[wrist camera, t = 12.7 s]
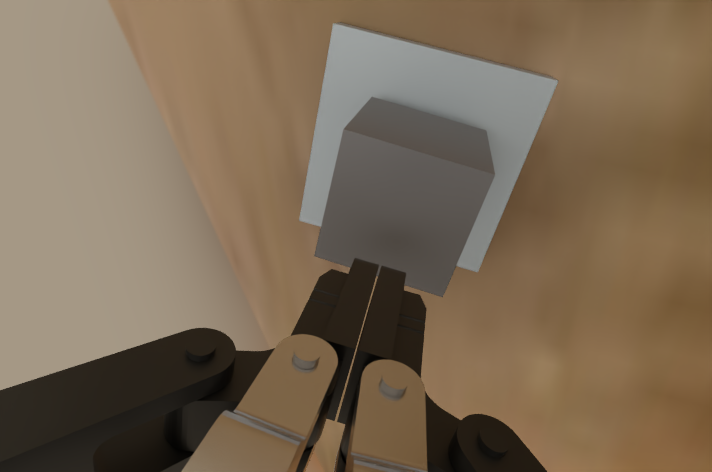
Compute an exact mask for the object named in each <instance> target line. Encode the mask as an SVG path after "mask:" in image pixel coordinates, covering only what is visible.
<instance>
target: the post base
mask: <svg viewBox="0 0 712 472" xmlns="http://www.w3.org/2000/svg"><path fill="white" fill-rule="evenodd" d="M557 83H558V80H557V79H555V78H554V77H552V76H548V75H544V74H540V73H536V72H533V71H529V70H525V69H521V68H517V67H513V66H509V65H505V64H501V63H497V62H493V61H490V60H486V59H482V58H478V57H474V56H470V55H466V54H462V53H458V52H454V51H450V50H447V49H443V48H439V47H435V46H431V45H427V44H423V43H419V42H415V41H411V40H407V39H403V38H400V37H396V36H392V35H388V34H384V33H380V32H376V31H372V30H368V29H364V28H360V27H357V26H353V25H349V24H345V23H341V22H339V23H333V28H332V34H331V40H330V45H329V51H328V57H327V63H326V68H325V74H324V80H323V86H322V91H321V97H320V103H319V109H318V115H317V120H316V126H315V132H314V138H313V143H312V149H311V155H310V161H309V166H308V172H307V178H306V184H305V190H304V195H303V201H302V207H301V213H300V218H299V221H303V222H306V223H309V224H313V225H316V226H320V227H321V225H322V220H323V216H324V212H325V207H326V203H327V199H328V194H329V190H330V186H331V181H332V177H333V172H334V168H335V164H336V159H337V155H338V151H339V146H340V142H341V138H342V133H343V129H344V128H345V127H346V126H347V124H348V123H349V122H350V121H351V120H352V119H353V118H354V116H355V115H356V114H357V113H358V112H359V111H360V110H361V108H362V107H363V106H364V105H365V104H366V103H367V102H368V100H369V99H370V98H371V97H375V98H378V99H382V100H385V101H389V102H392V103H395V104H399V105H402V106H405V107H409V108H412V109H416V110H419V111H422V112H426V113H429V114H432V115H436V116H439V117H443V118H446V119H449V120H453V121H456V122H459V123H463V124H466V125H470V126H473V127H476V128H480V129H483V130H486V131H487V136H488V141H489V146H490V151H491V156H492V161H493V166H494V171H495V177H494V179H493V181H492V184H491V186H490V188H489V191H488V193H487V195H486V198H485V200H484V202H483V205H482V207H481V209H480V212H479V214H478V216H477V219H476V221H475V223H474V226H473V228H472V230H471V233H470V235H469V237H468V239H467V242H466V244H465V246H464V249H463V251H462V253H461V256H460V258H459V260H458V263H457V265H456V266H458V267H461V268H464V269H468V270H471V271H475V272H478V270H479V268H480V266H481V263H482V261H483V259H484V256H485V254H486V252H487V249H488V247H489V244H490V242H491V240H492V237H493V235H494V233H495V230H496V228H497V225H498V223H499V221H500V218H501V216H502V214H503V211H504V209H505V206H506V204H507V202H508V199H509V197H510V195H511V192H512V190H513V187H514V185H515V183H516V180H517V178H518V176H519V173H520V171H521V169H522V166H523V164H524V161H525V159H526V157H527V154H528V152H529V150H530V147H531V145H532V142H533V140H534V138H535V135H536V133H537V131H538V128H539V126H540V123H541V121H542V119H543V116H544V114H545V112H546V109H547V107H548V105H549V102H550V100H551V97H552V95H553V93H554V90H555V88H556V86H557Z"/></svg>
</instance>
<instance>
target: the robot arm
mask: <svg viewBox="0 0 712 472" xmlns="http://www.w3.org/2000/svg"><path fill="white" fill-rule="evenodd" d="M378 268H379V265H378V264H375V263H371V262H368V261H365V260H361V259H358V258H354V261H353V263H352V266H351V268H350V271H349V274H346V273H343V272H340V271H336V270H333V269H331V270H330V271H328V272H327V273H325V274H323V275H322V276H320V277H319V279H318V281H317V284H316V286H315V288H314V290H313V292H312V294H311V296H310V298H309V300H308V302H307V304H306V306H305V308H304V310H303V312H302V314H301V316H300V318H299V320H298V322H297V324H296V326H295V328H294V330H293V332H292V334H291V336H289V337H287V338H285V339H283V340H282V341H281V342H279V344H278V345H277V346H276V348H274V349H271V350H267V351H236V348H235V345H234V343H233V341H232V340H231V339H230V338H229V337H228V336H227V335H226V334H224V333H222V332H220V331H218V330H214V329H209V328H195V329H190V330H186V331H183V332H180V333H177V334H174V335H171V336H168V337H164V338H162V339H158V340H155V341H152V342H149V343H146V344H143V345H140V346H137V347H134V348H131V349H127V350H124V351H121V352H118V353H115V354H112V355H109V356H106V357H103V358H100V359H96V360H93V361H90V362H87V363H84V364H81V365H78V366H75V367H71V368H68V369H65V370H62V371H59V372H56V373H53V374H50V375H47V376H44V377H41V378H37V379H34V380H31V381H28V382H25V383H22V384H19V385H16V386H13V387H10V388H6V389H3V390H0V472H305V471H306V468H307V466H308V463H309V461H310V458H311V456H312V454H313V451H314V448H315V445H316V442H317V441H318V440H319V438H320V436H321V434H322V431H323V428H324V424H325V421H326V418H327V419H330V420H333V421H334V420H335V417H336V414H337V410H338V407H339V403H340V400H341V397H342V393H343V390H344V386H345V383H346V380H347V376H348V373H349V369H350V366H351V363H352V359H353V356H354V352H355V349H356V345H357V342H358V338H359V335H360V331H361V328H362V324H363V321H364V317H365V314H366V310H367V307H368V303H369V300H370V296H371V292H372V289H373V285H374V282H375V278H376V275H377V271H378ZM405 278H406V272H402V271H399V270H396V269H392V268H389V267H385V266H381V269H380V272H379V275H378V279H377V282H376V286H375V289H374V292H373V296H372V299H371V303H370V306H369V309H368V313H367V316H366V320H365V323H364V327H363V330H362V334H361V337H360V341H359V345H358V348H357V352H356V355H355V359H354V363H353V366H352V370H351V373H350V377H349V381H348V384H347V388H346V391H345V395H344V399H343V402H342V406H341V409H340V413H339V417H338V420H337V422H340V423H343V424H345V428H344V432H343V436H342V440H341V443H340V446H339V449H338V452H337V456H336V462H335V468H334V472H547V471H546V470H545V468H544V467H543V466H542V465H541V464H540V462H539V461H538V460H537V459H536V458H535V456H534V455H533V454H532V453H531V452H530V450H529V449H528V448H527V447H526V446H525V444H524V443H523V442H522V441H521V440H520V438H519V437H518V436H517V435H516V434H515V433H514V431H513V430H512V429H510V428H509V427H508V426H507V425H506V424H504V423H503V422H501V421H499V420H498V419H496V418H493V417H491V416H488V415H483V414H472V415H469V416H467V417H465V418H463V419H462V420H459V419H457V418H456V417H454V416H453V415H451V414H449V413H448V412H446V411H444V410H443V409H441V408H440V407H439V406H438V405H436V404H435V403H434V402H433V401H432V400H431V399H430V398H429V396H428V395H427V394H426V392H425V387H424V384H423V382H422V380H421V365H422V353H423V342H424V330H425V318H426V307H425V305H424V303H423V301H422V298H421V296H420V295H418V294H414V293H411V292H408V291H404V284H405Z"/></svg>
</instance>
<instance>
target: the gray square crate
mask: <svg viewBox="0 0 712 472" xmlns="http://www.w3.org/2000/svg"><path fill="white" fill-rule="evenodd" d="M494 177H495V171H494V166H493V161H492V156H491V151H490V146H489V141H488V136H487V131H486V130H483V129H480V128H476V127H473V126H470V125H466V124H463V123H459V122H456V121H453V120H449V119H446V118H443V117H439V116H436V115H432V114H429V113H426V112H422V111H419V110H416V109H412V108H409V107H405V106H402V105H399V104H395V103H392V102H389V101H385V100H382V99H378V98H375V97H371V98H370V99H369V100H368V102H367V103H366V104H365V105H364V106H363V107H362V108H361V110H360V111H359V112H358V113H357V114H356V115H355V116H354V118H353V119H352V120H351V121H350V122H349V123H348V124H347V126H346V127H345V128H344V129H343V133H342V138H341V142H340V146H339V151H338V155H337V159H336V164H335V168H334V172H333V177H332V181H331V186H330V190H329V194H328V199H327V203H326V207H325V212H324V216H323V220H322V225H321V229H320V233H319V238H318V242H317V247H316V251H315V255H314V256H316V257H319V258H322V259H325V260H328V261H331V262H334V263H338V264H341V265H344V266H347V267H350V268H351V266H352V263H353V261H354V258H358V259H361V260H365V261H368V262H371V263H375V264H378V265H379V268H378V271H377V275H376V276H378V275H379V272H380V269H381V266H385V267H389V268H392V269H396V270H399V271H402V272H406V278H405V284H404V285H406V286H409V287H412V288H415V289H419V290H422V291H425V292H428V293H431V294H434V295H437V296H440V297H443V295H444V293H445V291H446V288H447V286H448V284H449V281H450V279H451V277H452V274H453V272H454V270H455V267H456V265H457V263H458V260H459V258H460V256H461V253H462V251H463V249H464V246H465V244H466V242H467V239H468V237H469V235H470V233H471V230H472V228H473V226H474V223H475V221H476V219H477V216H478V214H479V212H480V209H481V207H482V205H483V202H484V200H485V198H486V195H487V193H488V191H489V188H490V186H491V184H492V181H493V179H494Z"/></svg>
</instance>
